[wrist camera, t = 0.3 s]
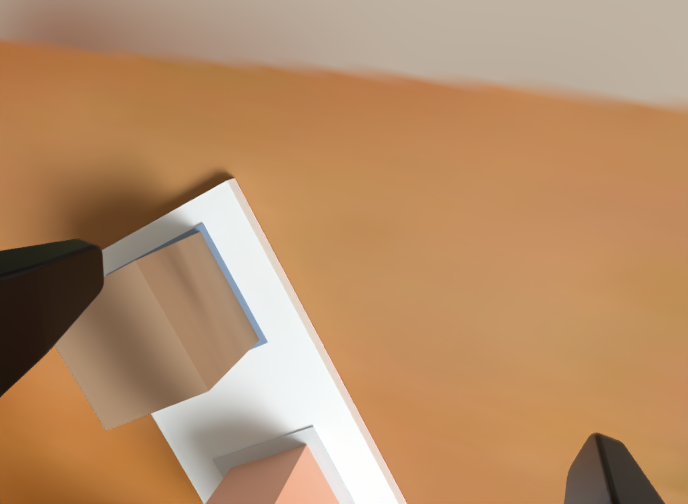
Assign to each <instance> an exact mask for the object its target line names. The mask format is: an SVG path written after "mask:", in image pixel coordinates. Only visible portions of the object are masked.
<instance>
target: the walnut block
mask: <svg viewBox="0 0 688 504" xmlns="http://www.w3.org/2000/svg"><path fill="white" fill-rule="evenodd" d="M258 341H259V338H258V336H257V334H256V333H255V331H254V329H253V327H252V325H251V323H250V322H249V320H248V318H247V316H246V314H245V312H244V311H243V309H242V307H241V305H240V303H239V301H238V300H237V298H236V296H235V294H234V292H233V290H232V289H231V287H230V285H229V283H228V281H227V279H226V278H225V276H224V274H223V272H222V270H221V268H220V267H219V265H218V263H217V261H216V259H215V258H214V256H213V254H212V252H211V250H210V248H209V247H208V245H207V243H206V241H205V239H204V237H203V236H202V234H201V232H198V233H196V234H194V235H191V236H189V237H187V238H185V239H182V240H180V241H178V242H176V243H174V244H171V245H169V246H167V247H165V248H162V249H160V250H158V251H156V252H153V253H151V254H149V255H147V256H144V257H142V258H140V259H138V260H135V261H133V262H132V263H130V264H128V265H126V266H124V267H122V268H120V269H118V270H116V271H115V272H113V273H111V274H109V275H107V276H105V277H104V286H103V289H102V291H101V292H100V294H99V295H98V296H97V297H96V299H95V300H94V301H93V302H92V303H91V304H90V305H89V307H88V308H87V309H86V310H85V311H84V312H83V313H82V315H81V316H80V317H79V318H78V319H77V320H76V321H75V322H74V324H73V325H72V326H71V327H70V328H69V329H68V330H67V332H66V333H65V334H64V335H63V336H62V337H61V338H60V339H59V341H58V342H57V343H56V344H55V345H54V346H55V348H56V349H57V351H58V353H59V354H60V356H61V357H62V359H63V361H64V362H65V364H66V366H67V367H68V369H69V371H70V372H71V374H72V376H73V377H74V379H75V381H76V382H77V384H78V386H79V387H80V389H81V391H82V392H83V394H84V396H85V397H86V399H87V401H88V402H89V404H90V406H91V407H92V409H93V411H94V412H95V414H96V416H97V417H98V419H99V421H100V422H101V424H102V425H103V427H104V429H105V430H106V431H107V430H110V429H112V428H115V427H117V426H120V425H123V424H125V423H128V422H130V421H133V420H136V419H138V418H141V417H143V416H146V415H149V414H151V413H154V412H156V411H159V410H162V409H164V408H167V407H169V406H172V405H175V404H177V403H180V402H182V401H185V400H187V399H190V398H193V397H195V396H198V395H200V394H203V393H206V392H208V391H210V390H211V389H212V388H213V387H214V386H215V385H216V384H217V383H218V381H219V380H220V379H221V378H222V377H223V376H224V375H225V374H226V373H227V372H228V371H229V370H230V369H231V368H232V367H233V366H234V365H235V364H236V363H237V362H238V361H239V360H240V359H241V358H242V357H243V356H244V355H245V354H246V353H247V352H248V351H249V350H250V349H251V348H252V347H253V346H254V345H255V344H256V343H257V342H258Z"/></svg>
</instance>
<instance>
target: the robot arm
mask: <svg viewBox="0 0 688 504" xmlns="http://www.w3.org/2000/svg"><path fill="white" fill-rule="evenodd" d="M103 286H104V266H103V252H102V249H101V247H100V246H98V245H97V244H94V243H92V242H89V241H86V240H84V239H72V240H66V241H60V242H53V243H47V244H41V245H34V246H28V247H22V248H15V249H9V250H3V251H0V397H1V396H2V395H3V394H4V393H5V392H6V391H7V390H9V389H10V388H11V387H12V386H13V385H14V384H15V383H16V382H17V381H18V380H19V379H20V378H21V377H22V376H24V375H25V374H26V373H27V372H28V371H29V370H30V369H31V368H32V367H33V366H34V365H35V364H36V363H37V362H38V361H39V360H40V359H42V358H43V357H44V356H45V355H46V354H47V353H48V352H49V350H50V349H51V348H52V347H53V346H54V345H55V344H56V343H57V342H58V341H59V339H60V338H61V337H62V336H63V335H64V334H65V333H66V332H67V330H68V329H69V328H70V327H71V326H72V325H73V324H74V322H75V321H76V320H77V319H78V318H79V317H80V316H81V315H82V313H83V312H84V311H85V310H86V309H87V308H88V307H89V305H90V304H91V303H92V302H93V301H94V300H95V299H96V297H97V296H98V295H99V294H100V292H101V291H102V289H103ZM564 504H665V503H664V501H663V500H662V499H661V497H660V496H659V494H658V493H657V491H656V490H655V488H654V487H653V486H652V484H651V483H650V481H649V480H648V478H647V477H646V475H645V474H644V473H643V471H642V470H641V468H640V467H639V465H638V464H637V462H636V461H635V460H634V458H633V457H632V455H631V454H630V452H629V451H628V449H627V448H626V447H625V445H624V444H623V443H622V442H620V441H619V440H616V439H614V438H611V437H608V436H606V435H603V434H600V433H593V434H591V435H590V436H589V438H588V439H587V441H586V442H585V444H584V445H583V447H582V449H581V450H580V452H579V453H578V455H577V457H576V458H575V460H574V462H573V463H572V465H571V467H570V469H569V473H568V476H567V483H566V491H565V500H564Z"/></svg>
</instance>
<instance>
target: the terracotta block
mask: <svg viewBox="0 0 688 504" xmlns="http://www.w3.org/2000/svg"><path fill="white" fill-rule="evenodd" d="M205 504H339V502H338V500H337V498H336V496H335V495H334V493H333V491H332V489H331V487H330V486H329V484H328V482H327V480H326V478H325V476H324V475H323V473H322V471H321V469H320V467H319V465H318V464H317V462H316V460H315V458H314V456H313V455H312V453H311V451H310V449H309V447H308V445H307V444H306V445H303V446H300V447H297V448H294V449H290V450H287V451H284V452H281V453H278V454H274V455H271V456H268V457H265V458H262V459H258V460H255V461H252V462H249V463H246V464H243V465H239V466H236V467H233V468H230V470H229V471H228V473H227V474H226V475H225V477H224V478H223V480H222V481H221V482H220V484H219V485H218V487H217V488H216V489H215V491H214V492H213V494H212V495H211V496H210V498H209V499H208V501H207V502H206V503H205Z"/></svg>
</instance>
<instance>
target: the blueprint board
mask: <svg viewBox="0 0 688 504" xmlns="http://www.w3.org/2000/svg"><path fill="white" fill-rule="evenodd" d="M198 232H201V234H202V236H203V237H204V239H205V241H206V243H207V245H208V247H209V248H210V250H211V252H212V254H213V256H214V258H215V259H216V261H217V263H218V265H219V267H220V268H221V270H222V272H223V274H224V276H225V278H226V279H227V281H228V283H229V285H230V287H231V289H232V290H233V292H234V294H235V296H236V298H237V300H238V301H239V303H240V305H241V307H242V309H243V311H244V312H245V314H246V316H247V318H248V320H249V322H250V323H251V325H252V327H253V329H254V331H255V333H256V334H257V336H258V338H259V341H258V342H257V343H256V344H255V345H254V346H253V347H252V348H251V349H250V350H249V351H248V352H247V353H246V354H245V355H244V356H243V357H242V358H241V359H240V360H239V361H238V362H237V363H236V364H235V365H234V366H233V367H232V368H231V369H230V370H229V371H228V372H227V373H226V374H225V375H224V376H223V377H222V378H221V379H220V380H219V381H218V383H217V384H216V385H215V386H214V387H213V388H212V389H211V390H210V391H208V392H206V393H203V394H200V395H198V396H195V397H193V398H190V399H187V400H185V401H182V402H180V403H177V404H175V405H172V406H169V407H167V408H164V409H162V410H159V411H156V412H154V413H151V415H152V416H153V418H154V420H155V421H156V423H157V425H158V426H159V428H160V430H161V432H162V433H163V435H164V437H165V438H166V440H167V442H168V443H169V445H170V447H171V449H172V450H173V452H174V454H175V455H176V457H177V459H178V461H179V462H180V464H181V466H182V467H183V469H184V471H185V472H186V474H187V476H188V478H189V479H190V481H191V483H192V484H193V486H194V488H195V489H196V491H197V493H198V495H199V496H200V498H201V500H202V501H203V503H204V504H205V503H206V502H207V501H208V499H209V498H210V496H211V495H212V494H213V492H214V491H215V489H216V488H217V487H218V485H219V484H220V482H221V481H222V480H223V478H224V477H225V475H226V474H227V473H228V471H229V470H230V468H233V467H236V466H239V465H243V464H246V463H249V462H252V461H255V460H258V459H262V458H265V457H268V456H271V455H274V454H278V453H281V452H284V451H287V450H290V449H294V448H297V447H300V446H303V445H306V444H307V445H308V447H309V449H310V451H311V453H312V455H313V456H314V458H315V460H316V462H317V464H318V465H319V467H320V469H321V471H322V473H323V475H324V476H325V478H326V480H327V482H328V484H329V486H330V487H331V489H332V491H333V493H334V495H335V496H336V498H337V500H338V502H339V504H407V503H406V501H405V499H404V497H403V495H402V493H401V491H400V490H399V488H398V486H397V484H396V482H395V480H394V478H393V476H392V474H391V473H390V471H389V469H388V467H387V465H386V463H385V461H384V459H383V457H382V455H381V454H380V452H379V450H378V448H377V446H376V444H375V442H374V440H373V438H372V437H371V435H370V433H369V431H368V429H367V427H366V425H365V423H364V421H363V420H362V418H361V416H360V414H359V412H358V410H357V408H356V406H355V404H354V403H353V401H352V399H351V397H350V395H349V393H348V391H347V389H346V387H345V386H344V384H343V382H342V380H341V378H340V376H339V374H338V372H337V370H336V369H335V367H334V365H333V363H332V361H331V359H330V357H329V355H328V353H327V352H326V350H325V348H324V346H323V344H322V342H321V340H320V338H319V336H318V335H317V333H316V331H315V329H314V327H313V325H312V323H311V321H310V319H309V318H308V316H307V314H306V312H305V310H304V308H303V306H302V304H301V302H300V301H299V299H298V297H297V295H296V293H295V291H294V289H293V287H292V285H291V284H290V282H289V280H288V278H287V276H286V274H285V272H284V270H283V268H282V267H281V265H280V263H279V261H278V259H277V257H276V255H275V253H274V251H273V250H272V248H271V246H270V244H269V242H268V240H267V238H266V236H265V234H264V232H263V231H262V229H261V227H260V225H259V223H258V221H257V219H256V217H255V215H254V214H253V212H252V210H251V208H250V206H249V204H248V202H247V200H246V198H245V197H244V195H243V193H242V191H241V189H240V187H239V185H238V183H237V181H236V180H235V178H233V179H230V180H227V181H225V182H223V183H221V184H220V185H218V186H216V187H214V188H212V189H211V190H209V191H207V192H205V193H203V194H202V195H200V196H198V197H196V198H194V199H193V200H191V201H189V202H187V203H185V204H184V205H182V206H180V207H178V208H177V209H175V210H173V211H171V212H169V213H168V214H166V215H164V216H162V217H160V218H159V219H157V220H155V221H153V222H151V223H150V224H148V225H146V226H144V227H142V228H141V229H139V230H137V231H135V232H134V233H132V234H130V235H128V236H126V237H125V238H123V239H121V240H119V241H117V242H116V243H114V244H112V245H110V246H108V247H107V248H105V249H103V250H102V252H103V266H104V277H105V276H107V275H109V274H111V273H113V272H115V271H116V270H118V269H120V268H122V267H124V266H126V265H128V264H130V263H132V262H133V261H135V260H138V259H140V258H142V257H144V256H147V255H149V254H151V253H153V252H156V251H158V250H160V249H162V248H165V247H167V246H169V245H171V244H174V243H176V242H178V241H180V240H182V239H185V238H187V237H189V236H191V235H194V234H196V233H198Z"/></svg>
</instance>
